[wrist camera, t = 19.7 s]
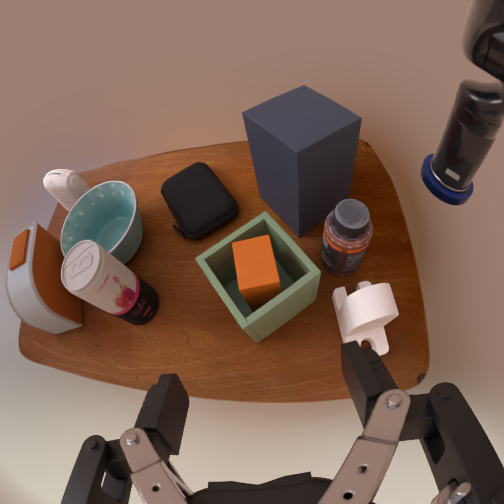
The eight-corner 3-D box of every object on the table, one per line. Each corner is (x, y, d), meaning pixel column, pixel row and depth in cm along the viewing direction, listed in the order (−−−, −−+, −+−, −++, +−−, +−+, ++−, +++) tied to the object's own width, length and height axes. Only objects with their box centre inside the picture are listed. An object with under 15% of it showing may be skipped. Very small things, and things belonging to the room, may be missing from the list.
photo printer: (105, 201, 51) (73, 162, 40) (96, 218, 50) (61, 181, 39) (77, 199, 54) (46, 165, 43) (68, 214, 52) (35, 182, 41)
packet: (276, 271, 38) (269, 233, 29) (284, 308, 35) (280, 281, 26) (247, 277, 38) (231, 242, 29) (254, 315, 36) (239, 290, 27)
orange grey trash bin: (53, 266, 46) (8, 234, 34) (81, 252, 46) (36, 215, 34) (52, 335, 39) (-2, 312, 27) (83, 325, 39) (25, 299, 27)
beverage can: (165, 314, 38) (105, 275, 25) (130, 332, 38) (62, 301, 25) (152, 277, 41) (96, 228, 28) (119, 296, 41) (58, 255, 28)
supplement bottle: (368, 256, 38) (388, 211, 28) (344, 286, 36) (360, 248, 26) (336, 232, 40) (345, 183, 30) (311, 260, 39) (315, 215, 29)
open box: (273, 250, 40) (265, 210, 32) (315, 300, 36) (321, 271, 27) (218, 288, 39) (194, 258, 30) (256, 343, 35) (242, 329, 26)
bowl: (169, 256, 43) (146, 229, 35) (94, 300, 41) (63, 283, 34) (145, 194, 50) (126, 165, 43) (83, 234, 48) (58, 212, 41)
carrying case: (157, 194, 49) (187, 252, 43) (150, 184, 47) (180, 242, 40) (205, 165, 51) (245, 216, 44) (201, 154, 48) (241, 204, 41)
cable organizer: (366, 285, 36) (386, 252, 27) (385, 353, 31) (415, 341, 22) (330, 294, 36) (341, 263, 27) (347, 365, 32) (367, 358, 23)
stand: (306, 168, 47) (304, 84, 32) (346, 203, 42) (361, 118, 27) (260, 196, 45) (241, 112, 30) (299, 238, 41) (297, 152, 26)
